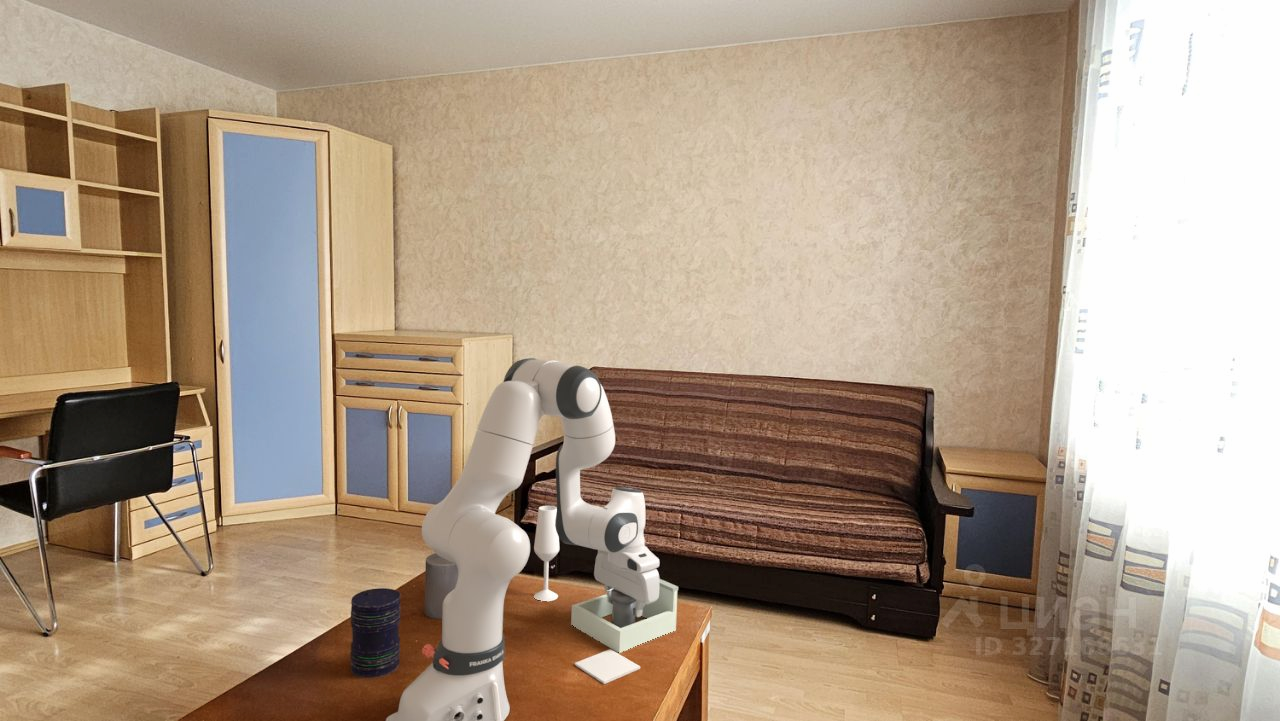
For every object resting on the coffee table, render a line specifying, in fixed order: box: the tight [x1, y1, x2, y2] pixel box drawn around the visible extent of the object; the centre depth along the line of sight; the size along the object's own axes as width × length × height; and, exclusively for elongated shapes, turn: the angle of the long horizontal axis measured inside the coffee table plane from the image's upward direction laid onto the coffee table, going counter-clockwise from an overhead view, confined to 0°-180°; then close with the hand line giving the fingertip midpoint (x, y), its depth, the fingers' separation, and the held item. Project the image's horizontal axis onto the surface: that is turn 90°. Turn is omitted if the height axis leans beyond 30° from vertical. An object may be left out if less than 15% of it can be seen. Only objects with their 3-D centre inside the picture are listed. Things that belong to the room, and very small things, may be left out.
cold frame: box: [570, 578, 679, 654], centre depth 170 cm, size 18×18×11 cm
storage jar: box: [349, 587, 401, 679], centre depth 148 cm, size 10×10×15 cm
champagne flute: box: [533, 505, 561, 602], centre depth 187 cm, size 7×7×24 cm
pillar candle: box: [424, 552, 458, 620], centre depth 176 cm, size 10×10×15 cm
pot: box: [611, 589, 636, 628], centre depth 170 cm, size 6×6×9 cm
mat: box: [574, 648, 641, 685], centre depth 152 cm, size 10×10×1 cm
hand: (624, 609), depth 170 cm, fingers open, 8 cm apart
